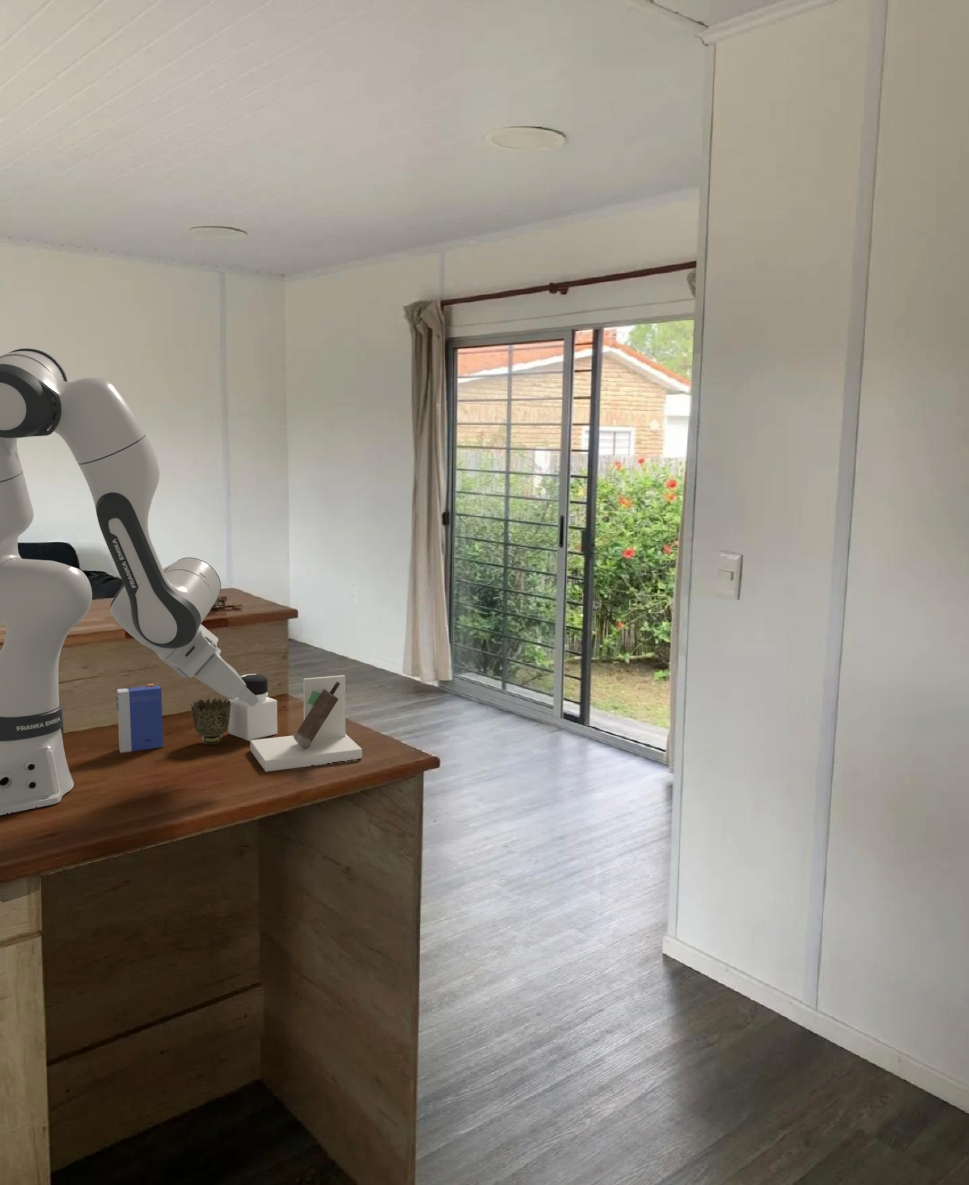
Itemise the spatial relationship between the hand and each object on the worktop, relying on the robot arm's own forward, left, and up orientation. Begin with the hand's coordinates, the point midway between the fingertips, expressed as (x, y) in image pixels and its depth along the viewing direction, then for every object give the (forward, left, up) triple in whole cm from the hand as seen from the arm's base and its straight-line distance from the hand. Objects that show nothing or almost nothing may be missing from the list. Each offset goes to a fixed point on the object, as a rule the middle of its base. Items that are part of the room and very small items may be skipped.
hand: (255, 702), depth 170 cm
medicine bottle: (+14, +19, -13) cm, 27 cm away
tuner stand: (+12, +1, -13) cm, 18 cm away
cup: (+5, +20, -13) cm, 25 cm away
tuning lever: (+11, 0, -9) cm, 14 cm away
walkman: (-6, +27, -13) cm, 31 cm away
